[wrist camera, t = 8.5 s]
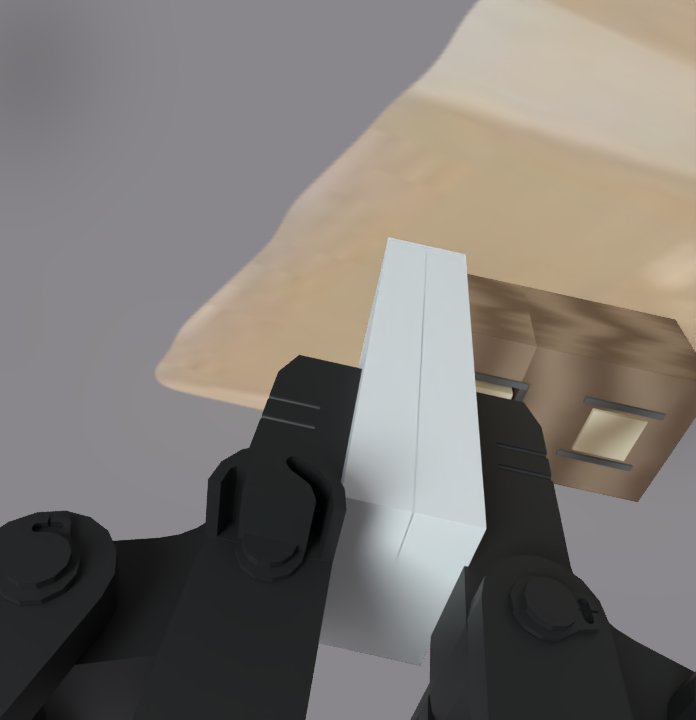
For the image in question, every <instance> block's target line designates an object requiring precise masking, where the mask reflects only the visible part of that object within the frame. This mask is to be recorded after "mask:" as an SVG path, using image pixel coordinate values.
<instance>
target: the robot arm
mask: <svg viewBox="0 0 696 720" xmlns="http://www.w3.org/2000/svg"><path fill="white" fill-rule="evenodd" d="M546 455H547V450H546V445H545V441H544V436H543V431H542V427H541V426H540V424H539V423H538V421H537V420H536V419H535V417H534V416H533V414H532V413H531V412H530V410H529V409H528V407H527V406H526V405H525V403H524V402H520V401H516V400H511V399H507V398H502V397H497V396H493V395H488V394H484V393H479V392H476V385H475V371H474V358H473V345H472V332H471V319H470V306H469V293H468V280H467V267H466V254H462V253H457V252H453V251H448V250H444V249H439V248H434V247H430V246H425V245H421V244H416V243H412V242H407V241H403V240H398V239H394V238H389V237H388V241H387V245H386V250H385V254H384V258H383V263H382V267H381V271H380V275H379V280H378V284H377V288H376V293H375V297H374V301H373V306H372V310H371V314H370V319H369V323H368V327H367V331H366V336H365V340H364V344H363V349H362V353H361V358H360V363H359V368H356V367H351V366H347V365H342V364H338V363H333V362H329V361H324V360H320V359H315V358H311V357H306V356H302V355H299V356H297V357H296V358H295V359H294V360H292V361H291V362H290V363H289V364H287V365H286V366H285V367H284V368H282V369H281V370H280V371H279V372H278V374H277V377H276V379H275V382H274V385H273V387H272V390H271V393H270V396H269V399H268V400H267V403H266V406H265V408H264V411H263V414H262V418H261V419H260V421H259V424H258V426H257V429H256V432H255V434H254V437H253V440H252V442H251V445H250V447H249V448H247V449H242V450H240V451H239V452H237V453H235V454H233V455H232V456H230V457H228V458H227V459H225V460H223V461H221V463H220V464H219V466H218V467H217V468H216V470H215V471H214V472H213V474H212V475H211V476H210V478H209V479H208V491H207V509H206V523H204V524H203V525H201V526H199V527H198V528H195V529H193V530H190V531H187V532H185V533H182V534H179V535H173V536H168V537H161V538H150V539H135V540H120V541H112V538H111V536H110V534H109V532H108V530H106V529H105V528H104V527H103V526H101V525H100V524H99V523H97V522H96V521H94V520H93V519H92V518H91V517H88V516H84V515H80V514H76V513H72V512H69V511H53V512H37V513H34V514H31V515H28V516H25V517H22V518H19V519H16V520H13V521H10V522H8V523H6V524H5V525H3V526H2V527H0V720H305V719H306V713H307V707H308V701H309V696H310V689H311V684H312V678H313V673H314V667H315V661H316V655H317V650H318V644H319V643H320V644H324V645H329V646H333V647H338V648H342V649H347V650H351V651H356V652H360V653H365V654H369V655H374V656H378V657H383V658H387V659H392V660H396V661H401V662H405V663H410V664H414V665H419V666H420V665H421V664H422V662H423V659H424V657H425V655H426V653H427V651H428V649H429V647H430V683H429V685H428V687H427V689H426V691H425V693H424V695H423V697H422V699H421V700H420V703H419V704H418V706H417V708H416V710H415V712H414V714H413V716H412V718H411V720H696V672H693V671H692V670H690V669H688V668H686V667H684V666H682V665H680V664H678V663H676V662H674V661H672V660H670V659H669V658H667V657H665V656H663V655H661V654H659V653H657V652H655V651H653V650H651V649H650V648H648V647H646V646H644V645H642V644H640V643H638V642H636V641H634V640H633V639H631V638H630V637H628V636H626V635H625V634H623V633H622V632H620V631H618V630H617V629H616V628H614V627H613V626H612V625H611V624H610V623H609V622H608V620H607V617H606V615H605V613H604V610H603V608H602V606H601V603H600V601H599V600H598V599H597V598H596V596H595V595H594V594H593V593H592V591H591V590H590V589H589V588H588V587H587V585H586V584H585V583H584V582H583V581H582V580H581V579H580V578H578V577H577V576H575V575H574V574H573V572H572V569H571V566H570V561H569V557H568V552H567V547H566V543H565V537H564V532H563V528H562V523H561V518H560V513H559V508H558V504H557V499H556V494H555V489H554V484H553V481H551V476H552V474H551V470H550V465H549V460H548V458H546Z"/></svg>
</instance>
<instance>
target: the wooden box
mask: <svg viewBox="0 0 696 720" xmlns="http://www.w3.org/2000/svg"><path fill="white" fill-rule="evenodd" d="M467 280H468V293H469V306H470V319H471V332H472V345H473V358H474V371H475V379H477V380H482V381H486V382H491V383H495V384H500V385H504V386H509V387H512V392H513V396H512V398H511V400H516V401H520V402H524V403H525V405H526V406H527V407H528V409H529V410H530V412H531V413H532V414H533V416H534V417H535V419H536V420H537V421H538V423H539V424H540V426H541V427H542V431H543V436H544V441H545V445H546V450H547V455H546V458H548V460H549V465H550V470H551V474H552V476H551V481H553V483H554V484H558V485H563V486H567V487H572V488H576V489H581V490H586V491H590V492H595V493H599V494H603V495H608V496H612V497H617V498H621V499H626V500H631V501H635V502H638V501H639V500H640V498H641V496H642V495H643V494H644V492H645V491H646V489H647V488H648V486H649V485H650V483H651V482H652V480H653V479H654V477H655V476H656V474H657V473H658V472H659V470H660V469H661V467H662V466H663V464H664V463H665V461H666V460H667V458H668V457H669V455H670V454H671V453H672V451H673V450H674V448H675V447H676V445H677V444H678V442H679V441H680V439H681V438H682V436H683V435H684V433H685V432H686V431H687V429H688V428H689V426H690V425H691V423H692V422H693V420H694V419H695V417H696V352H695V351H694V349H693V348H692V346H691V344H690V343H689V341H688V340H687V338H686V336H685V335H684V333H683V332H682V330H681V328H680V327H679V325H678V324H677V322H676V320H674V319H669V318H665V317H660V316H656V315H651V314H647V313H642V312H637V311H633V310H628V309H624V308H619V307H615V306H610V305H606V304H601V303H597V302H592V301H587V300H583V299H578V298H574V297H569V296H565V295H560V294H556V293H551V292H547V291H542V290H537V289H533V288H528V287H524V286H519V285H515V284H510V283H506V282H501V281H497V280H492V279H487V278H483V277H478V276H474V275H469V274H467Z"/></svg>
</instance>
